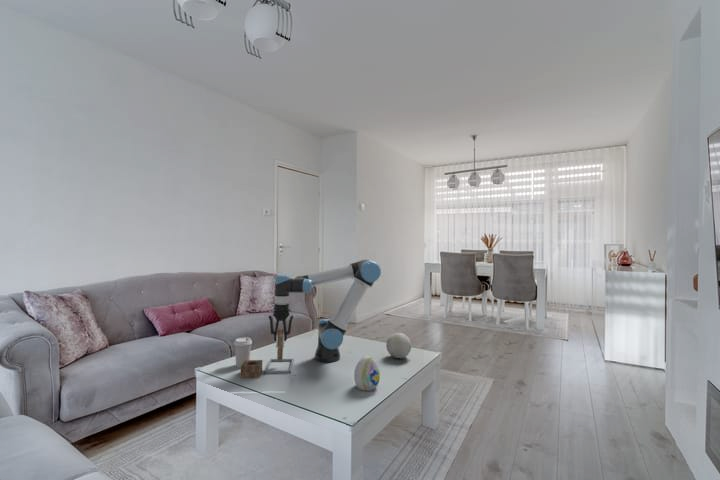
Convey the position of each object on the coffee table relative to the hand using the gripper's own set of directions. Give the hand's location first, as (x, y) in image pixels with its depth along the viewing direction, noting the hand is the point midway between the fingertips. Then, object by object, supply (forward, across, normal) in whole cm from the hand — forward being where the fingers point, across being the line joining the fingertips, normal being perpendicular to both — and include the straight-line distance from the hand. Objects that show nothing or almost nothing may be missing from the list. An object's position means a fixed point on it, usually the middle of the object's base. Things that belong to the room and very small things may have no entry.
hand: (280, 346), depth 187 cm
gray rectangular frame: (+12, 0, 0) cm, 12 cm away
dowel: (+7, 0, 0) cm, 7 cm away
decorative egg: (+12, -44, +27) cm, 53 cm away
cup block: (+12, +13, +10) cm, 20 cm away
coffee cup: (+12, +20, -3) cm, 24 cm away
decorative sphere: (+12, -69, -15) cm, 72 cm away
